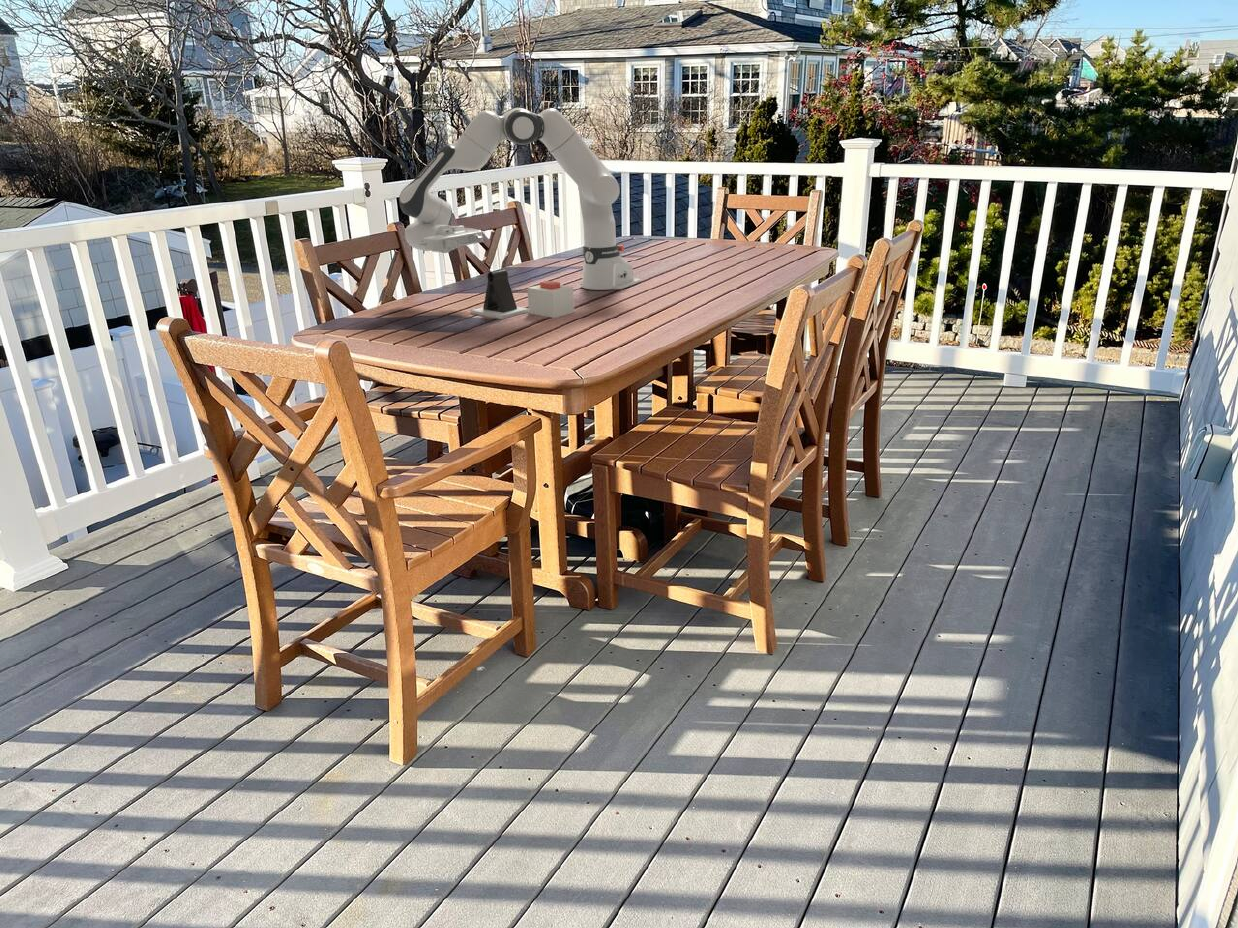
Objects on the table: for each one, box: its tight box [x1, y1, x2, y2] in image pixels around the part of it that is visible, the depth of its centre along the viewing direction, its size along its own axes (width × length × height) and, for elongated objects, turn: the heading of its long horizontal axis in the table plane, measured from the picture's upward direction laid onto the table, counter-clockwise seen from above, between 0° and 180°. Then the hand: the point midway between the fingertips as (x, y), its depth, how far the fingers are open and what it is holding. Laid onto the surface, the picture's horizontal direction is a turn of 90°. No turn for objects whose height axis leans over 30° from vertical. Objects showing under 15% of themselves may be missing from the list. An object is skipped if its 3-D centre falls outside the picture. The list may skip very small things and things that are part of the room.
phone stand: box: [482, 268, 518, 313], centre depth 280 cm, size 9×6×12 cm, turn 52°
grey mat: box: [470, 306, 529, 320], centre depth 283 cm, size 12×14×1 cm
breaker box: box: [527, 284, 575, 319], centre depth 279 cm, size 9×11×8 cm
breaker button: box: [539, 280, 561, 290], centre depth 278 cm, size 4×5×3 cm
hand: (469, 241), depth 282 cm, fingers open, 8 cm apart
